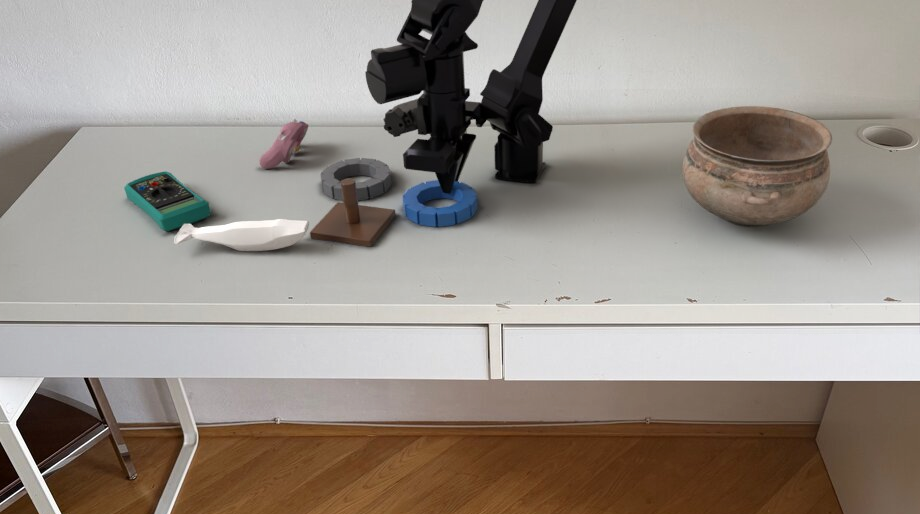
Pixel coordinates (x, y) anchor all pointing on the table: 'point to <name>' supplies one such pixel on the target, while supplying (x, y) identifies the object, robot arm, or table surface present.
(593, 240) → the table surface
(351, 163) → the grey ring
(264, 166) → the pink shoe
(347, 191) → the peg stand
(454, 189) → the blue ring
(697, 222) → the table surface
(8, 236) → the table surface
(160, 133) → the table surface
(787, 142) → the cooking pot
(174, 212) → the digital multimeter
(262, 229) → the toy fish
